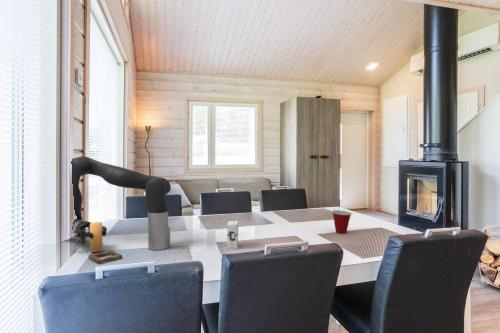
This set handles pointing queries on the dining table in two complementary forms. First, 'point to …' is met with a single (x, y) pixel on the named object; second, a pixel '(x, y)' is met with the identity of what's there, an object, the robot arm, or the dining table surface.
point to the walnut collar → (99, 261)
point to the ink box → (232, 235)
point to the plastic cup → (341, 220)
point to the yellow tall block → (96, 236)
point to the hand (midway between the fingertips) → (98, 234)
